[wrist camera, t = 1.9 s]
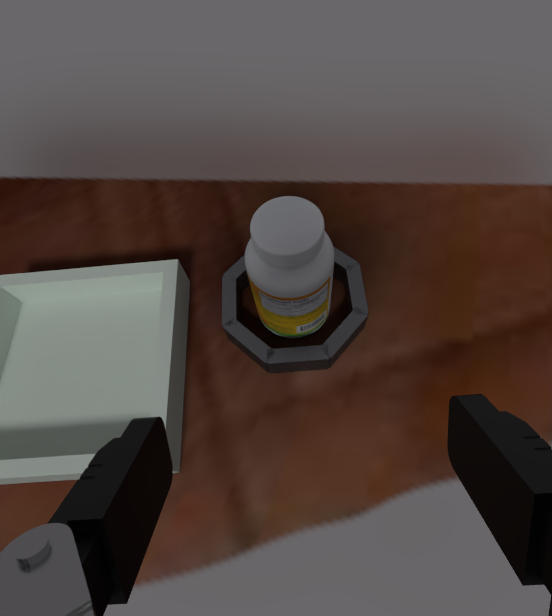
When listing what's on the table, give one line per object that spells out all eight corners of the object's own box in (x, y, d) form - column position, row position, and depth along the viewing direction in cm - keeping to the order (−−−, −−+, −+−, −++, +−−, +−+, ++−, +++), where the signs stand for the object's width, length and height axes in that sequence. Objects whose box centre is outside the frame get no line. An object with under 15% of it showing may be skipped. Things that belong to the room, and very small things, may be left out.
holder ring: (227, 376, 27) (221, 367, 25) (227, 257, 32) (222, 242, 30) (371, 365, 27) (376, 355, 25) (351, 246, 31) (353, 230, 30)
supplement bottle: (270, 270, 31) (255, 177, 22) (337, 285, 30) (348, 194, 21) (247, 329, 29) (221, 253, 20) (319, 348, 28) (323, 276, 19)
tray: (-35, 486, 25) (-78, 483, 22) (19, 296, 32) (-10, 276, 29) (179, 472, 25) (162, 467, 22) (190, 282, 31) (178, 259, 28)
